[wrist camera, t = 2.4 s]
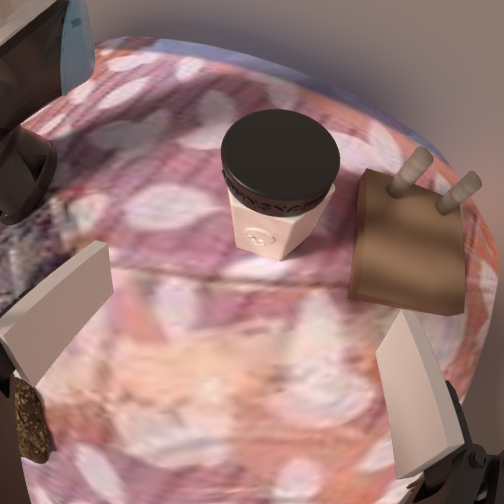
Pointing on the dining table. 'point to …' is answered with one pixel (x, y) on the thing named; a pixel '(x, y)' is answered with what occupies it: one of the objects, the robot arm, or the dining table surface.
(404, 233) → the peg stand
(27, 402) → the bread roll
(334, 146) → the jar
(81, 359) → the dining table surface
